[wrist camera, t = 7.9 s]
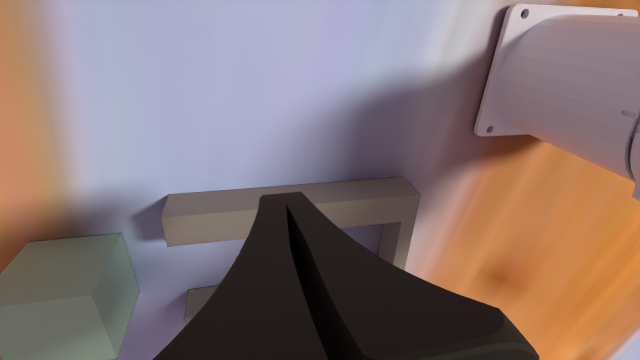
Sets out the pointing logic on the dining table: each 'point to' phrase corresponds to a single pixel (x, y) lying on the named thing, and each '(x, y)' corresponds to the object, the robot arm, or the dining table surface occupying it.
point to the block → (67, 299)
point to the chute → (330, 198)
